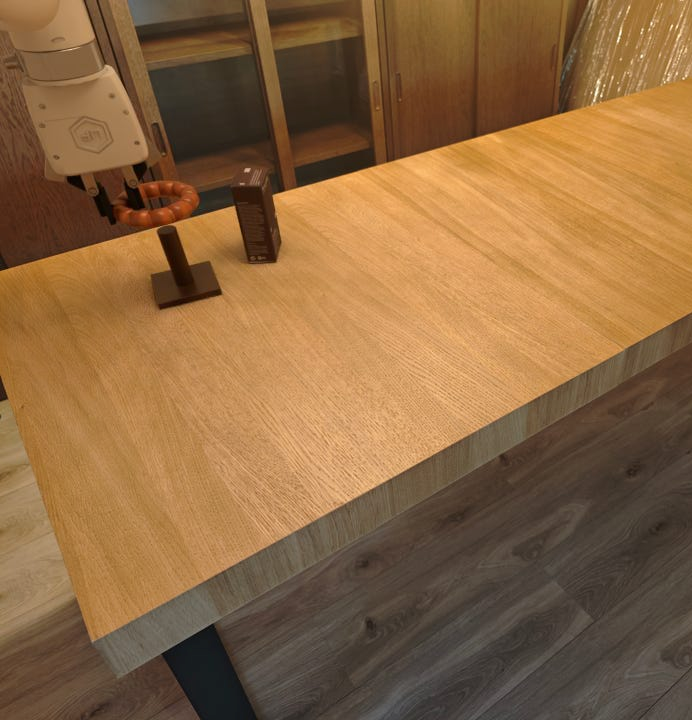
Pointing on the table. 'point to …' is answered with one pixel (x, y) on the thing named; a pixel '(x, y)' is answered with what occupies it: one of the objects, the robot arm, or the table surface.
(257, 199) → the box
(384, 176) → the table surface
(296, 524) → the table surface
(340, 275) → the table surface
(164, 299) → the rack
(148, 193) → the ring
